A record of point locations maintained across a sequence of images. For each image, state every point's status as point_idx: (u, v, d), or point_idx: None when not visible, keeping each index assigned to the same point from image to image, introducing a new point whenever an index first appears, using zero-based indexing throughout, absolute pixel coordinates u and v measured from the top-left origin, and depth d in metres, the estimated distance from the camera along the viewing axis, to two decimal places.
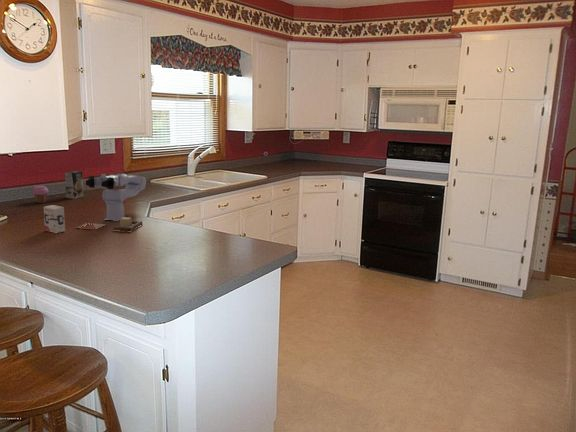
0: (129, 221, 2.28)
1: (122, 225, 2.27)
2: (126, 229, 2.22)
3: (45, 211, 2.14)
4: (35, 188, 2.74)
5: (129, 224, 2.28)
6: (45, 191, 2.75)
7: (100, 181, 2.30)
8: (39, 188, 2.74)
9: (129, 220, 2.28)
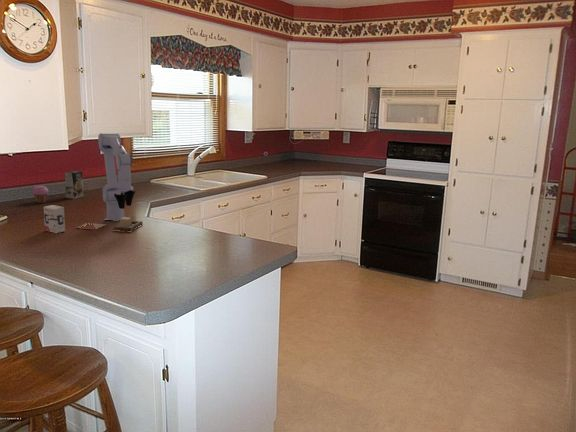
0: (129, 221, 2.28)
1: (122, 225, 2.27)
2: (126, 229, 2.22)
3: (45, 211, 2.14)
4: (35, 188, 2.74)
5: (129, 224, 2.28)
6: (45, 191, 2.75)
7: None
8: (39, 188, 2.74)
9: (129, 220, 2.28)
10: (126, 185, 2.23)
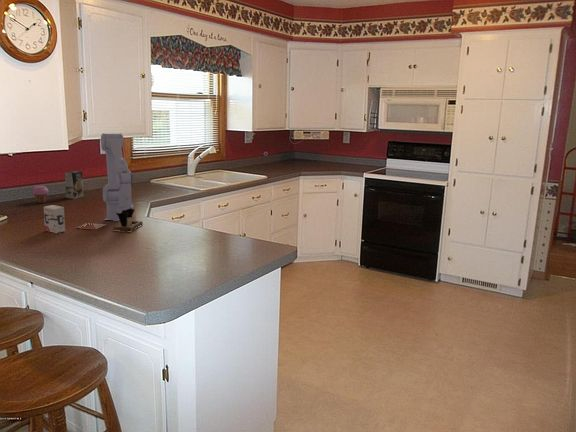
0: (129, 220, 2.28)
1: None
2: (126, 229, 2.22)
3: (45, 211, 2.14)
4: (35, 188, 2.74)
5: (129, 224, 2.28)
6: (45, 191, 2.75)
7: None
8: (39, 188, 2.74)
9: (129, 220, 2.28)
10: (127, 203, 2.24)
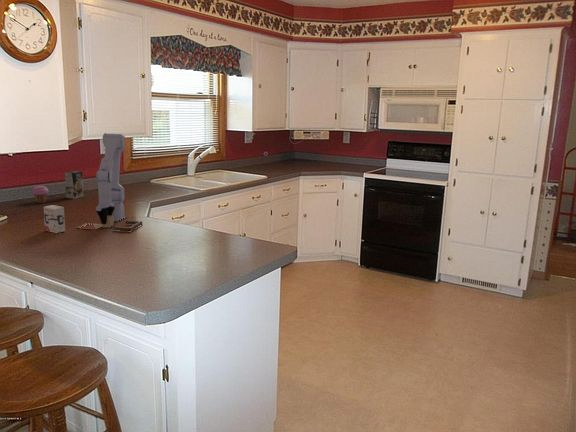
0: (110, 218, 2.29)
1: None
2: (126, 229, 2.22)
3: (45, 211, 2.14)
4: (35, 188, 2.74)
5: (111, 222, 2.29)
6: (45, 191, 2.75)
7: None
8: (39, 188, 2.74)
9: (111, 218, 2.29)
10: (107, 201, 2.25)
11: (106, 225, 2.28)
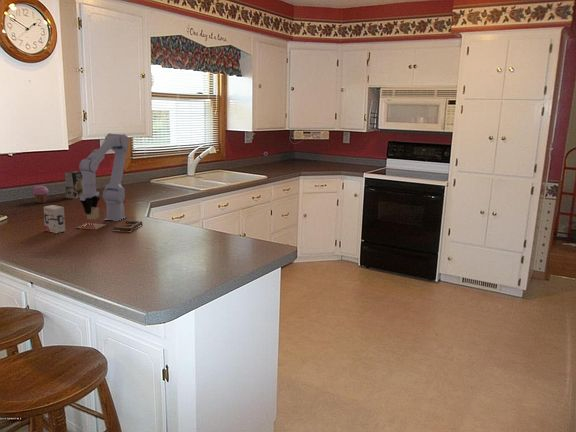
0: (96, 210, 2.25)
1: (89, 215, 2.24)
2: (126, 229, 2.22)
3: (45, 211, 2.14)
4: (35, 188, 2.74)
5: (96, 214, 2.26)
6: (45, 191, 2.75)
7: None
8: (39, 188, 2.74)
9: (96, 210, 2.25)
10: (91, 191, 2.22)
11: (91, 217, 2.25)
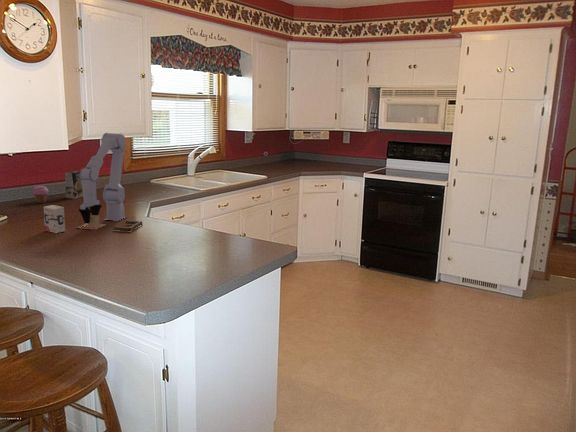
0: (96, 218, 2.26)
1: (89, 223, 2.25)
2: (126, 229, 2.22)
3: (45, 211, 2.14)
4: (35, 188, 2.74)
5: (96, 222, 2.27)
6: (45, 191, 2.75)
7: None
8: (39, 188, 2.74)
9: (96, 218, 2.26)
10: (91, 200, 2.23)
11: (91, 225, 2.25)
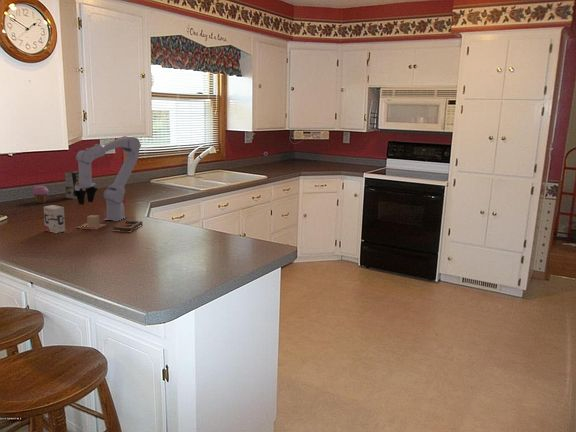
0: (96, 218, 2.26)
1: (89, 223, 2.25)
2: (126, 229, 2.22)
3: (45, 211, 2.14)
4: (35, 188, 2.74)
5: (96, 222, 2.27)
6: (45, 191, 2.75)
7: None
8: (39, 188, 2.74)
9: (96, 218, 2.26)
10: (86, 181, 2.27)
11: (91, 225, 2.25)
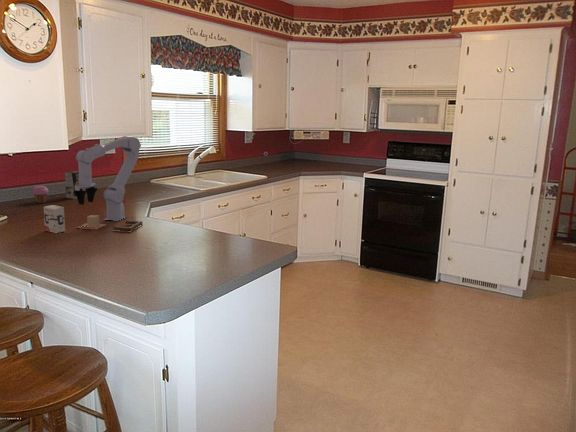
0: (96, 218, 2.26)
1: (89, 223, 2.25)
2: (126, 229, 2.22)
3: (45, 211, 2.14)
4: (35, 188, 2.74)
5: (96, 222, 2.27)
6: (45, 191, 2.75)
7: None
8: (39, 188, 2.74)
9: (96, 218, 2.26)
10: (86, 181, 2.27)
11: (91, 225, 2.25)
